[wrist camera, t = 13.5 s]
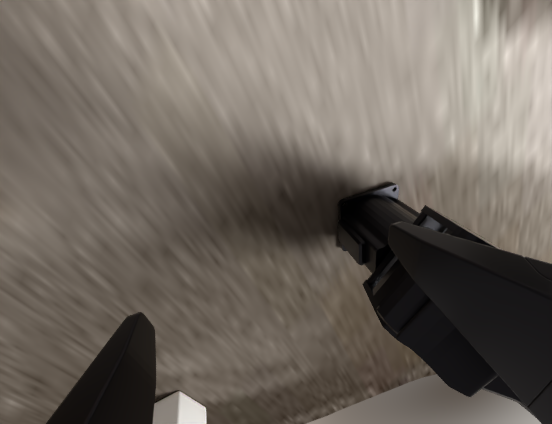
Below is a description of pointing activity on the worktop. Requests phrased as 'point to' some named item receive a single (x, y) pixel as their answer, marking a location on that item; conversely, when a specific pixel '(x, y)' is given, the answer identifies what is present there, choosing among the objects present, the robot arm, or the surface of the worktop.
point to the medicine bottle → (179, 410)
